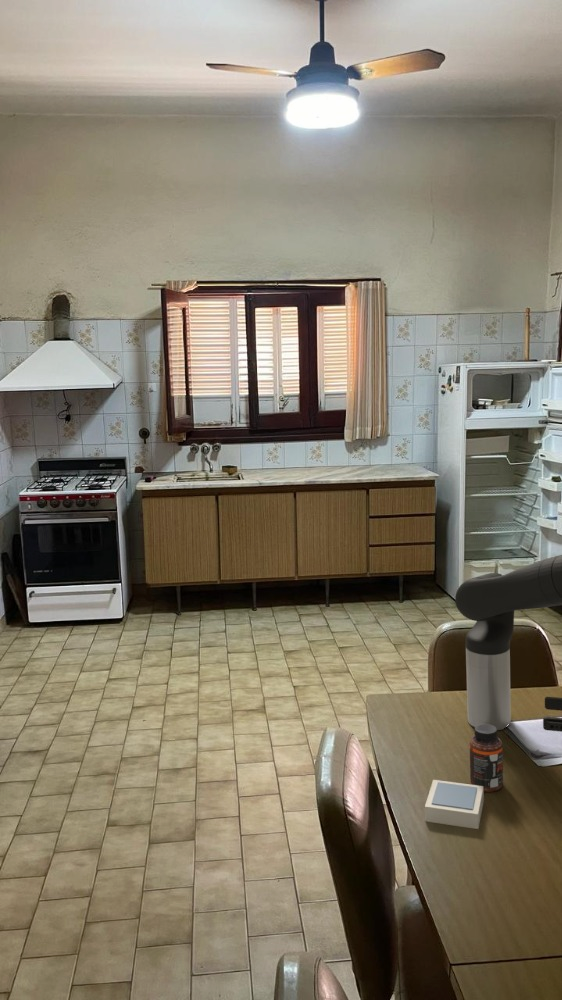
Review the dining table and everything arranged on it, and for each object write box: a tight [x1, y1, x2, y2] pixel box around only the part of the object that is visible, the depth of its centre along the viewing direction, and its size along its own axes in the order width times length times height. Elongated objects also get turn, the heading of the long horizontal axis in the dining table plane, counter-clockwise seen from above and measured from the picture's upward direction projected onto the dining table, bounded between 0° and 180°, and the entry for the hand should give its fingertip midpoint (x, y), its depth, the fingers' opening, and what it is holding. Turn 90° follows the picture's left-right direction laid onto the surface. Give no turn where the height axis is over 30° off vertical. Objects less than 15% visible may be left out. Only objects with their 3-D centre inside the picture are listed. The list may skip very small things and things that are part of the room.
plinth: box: [424, 779, 485, 830], centre depth 133 cm, size 9×9×3 cm
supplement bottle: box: [469, 724, 504, 793], centre depth 140 cm, size 6×6×11 cm
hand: (544, 712), depth 135 cm, fingers open, 8 cm apart
